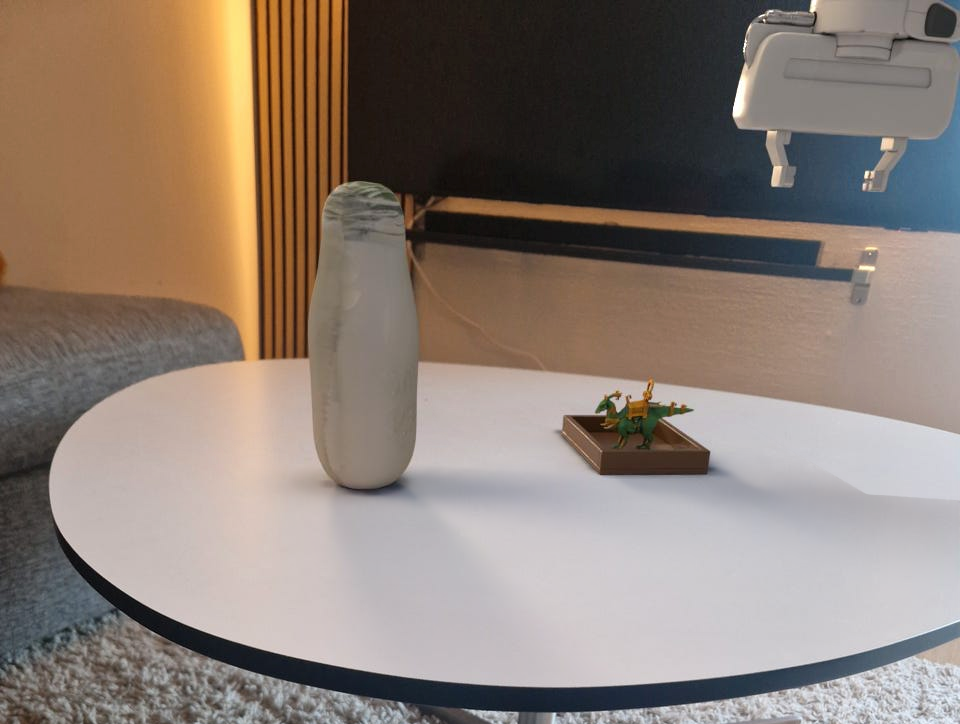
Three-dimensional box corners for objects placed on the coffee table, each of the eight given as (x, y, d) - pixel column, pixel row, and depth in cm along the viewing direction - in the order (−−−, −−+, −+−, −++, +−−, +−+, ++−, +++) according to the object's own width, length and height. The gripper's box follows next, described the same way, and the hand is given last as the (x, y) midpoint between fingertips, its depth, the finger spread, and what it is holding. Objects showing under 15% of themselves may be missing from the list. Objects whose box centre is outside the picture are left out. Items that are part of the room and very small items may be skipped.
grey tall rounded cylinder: (393, 506, 89) (393, 182, 77) (298, 492, 92) (283, 177, 80) (430, 479, 98) (435, 184, 85) (341, 467, 100) (334, 180, 88)
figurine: (588, 445, 111) (594, 376, 107) (684, 446, 113) (693, 377, 109) (594, 452, 108) (601, 381, 105) (692, 453, 110) (702, 383, 106)
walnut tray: (707, 473, 104) (710, 451, 103) (599, 474, 102) (601, 451, 101) (656, 435, 120) (658, 415, 119) (561, 435, 118) (563, 414, 117)
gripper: (766, 1, 78) (738, 184, 84) (984, 19, 81) (943, 194, 87) (735, 13, 83) (712, 184, 89) (941, 29, 87) (905, 193, 93)
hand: (827, 189), depth 88 cm, fingers open, 8 cm apart
